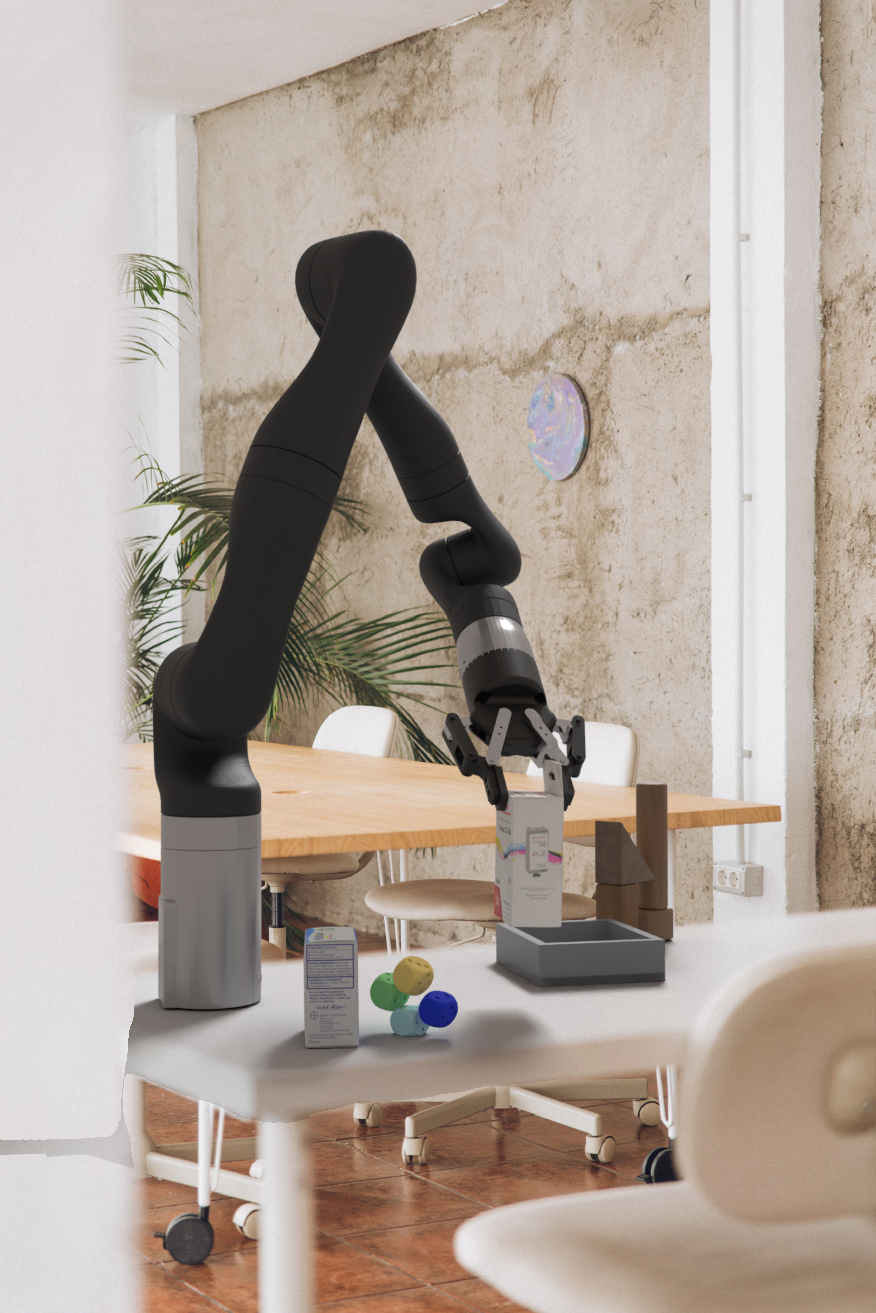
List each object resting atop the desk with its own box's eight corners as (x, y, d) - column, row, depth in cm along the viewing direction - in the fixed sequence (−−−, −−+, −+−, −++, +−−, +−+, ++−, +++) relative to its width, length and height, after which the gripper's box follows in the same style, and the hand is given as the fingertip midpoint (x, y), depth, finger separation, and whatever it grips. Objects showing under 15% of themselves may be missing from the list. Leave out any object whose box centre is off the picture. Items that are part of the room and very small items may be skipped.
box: (539, 986, 154) (538, 945, 154) (496, 961, 169) (496, 923, 169) (665, 980, 157) (664, 939, 158) (612, 955, 172) (612, 918, 172)
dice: (461, 1036, 132) (461, 959, 132) (442, 1042, 130) (442, 963, 130) (385, 1025, 137) (385, 950, 137) (366, 1030, 135) (366, 954, 135)
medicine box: (359, 1048, 128) (359, 940, 128) (303, 1049, 128) (303, 940, 128) (356, 1027, 136) (356, 925, 136) (303, 1028, 135) (303, 926, 136)
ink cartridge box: (490, 914, 149) (494, 757, 150) (542, 915, 150) (546, 758, 151) (508, 928, 141) (512, 761, 141) (563, 928, 142) (567, 762, 142)
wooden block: (594, 947, 178) (594, 785, 178) (647, 936, 186) (647, 781, 186) (622, 951, 175) (621, 787, 176) (674, 939, 183) (674, 782, 184)
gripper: (435, 643, 152) (465, 776, 140) (578, 647, 155) (620, 778, 143) (420, 699, 157) (449, 832, 145) (559, 701, 160) (598, 832, 148)
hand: (534, 804), depth 144 cm, fingers closed on ink cartridge box, 5 cm apart
